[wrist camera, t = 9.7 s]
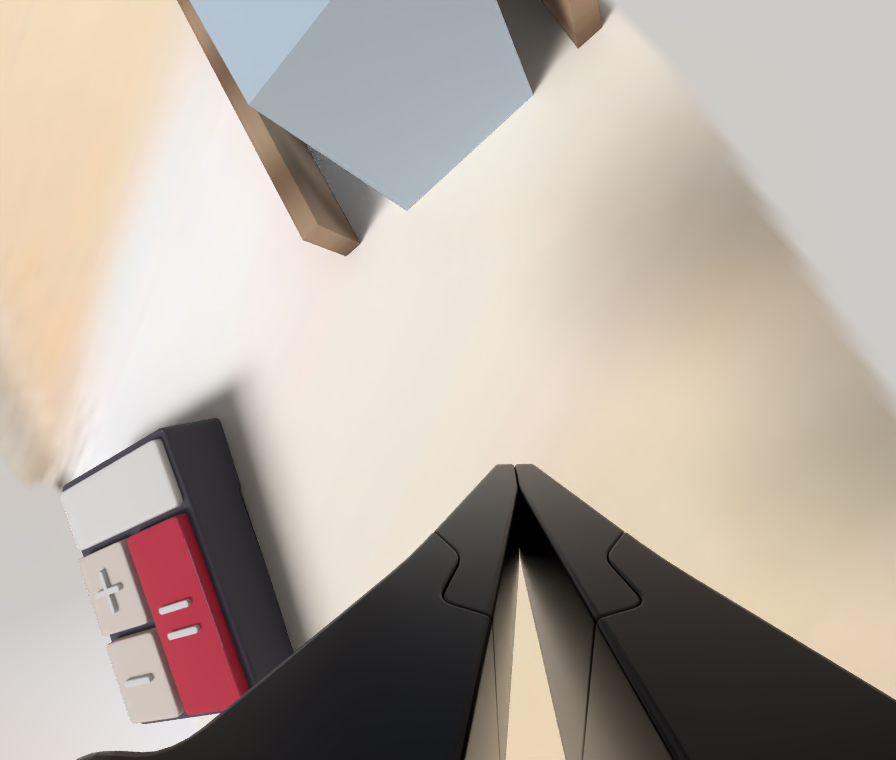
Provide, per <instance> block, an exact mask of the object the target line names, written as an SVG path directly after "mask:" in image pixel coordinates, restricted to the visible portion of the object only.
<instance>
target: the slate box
mask: <svg viewBox="0 0 896 760" xmlns="http://www.w3.org/2000/svg"><path fill="white" fill-rule="evenodd" d="M190 2H191V4H192V6H193V7H194V9H195V11H196V13H197V14H198V16H199V18H200V20H201V22H202V23H203V25H204V27H205V29H206V30H207V32H208V34H209V36H210V38H211V39H212V41H213V43H214V45H215V46H216V48H217V50H218V52H219V54H220V55H221V57H222V59H223V61H224V62H225V64H226V66H227V68H228V69H229V71H230V73H231V75H232V77H233V78H234V80H235V82H236V84H237V85H238V87H239V89H240V91H241V93H242V94H243V96H244V98H245V100H246V101H247V103H248V105H249V106H251V107H252V108H254V109H255V110H257V111H258V112H260V113H261V114H263V115H264V116H266V117H267V118H269V119H270V120H272V121H273V122H275V123H276V124H278V125H279V126H281V127H282V128H284V129H285V130H287V131H288V132H290V133H291V134H293V135H294V136H296V137H297V138H299V139H300V140H302V141H303V142H305V143H306V144H308V145H309V146H311V147H312V148H314V149H315V150H317V151H318V152H320V153H321V154H323V155H324V156H326V157H327V158H329V159H330V160H332V161H333V162H335V163H336V164H338V165H339V166H341V167H342V168H344V169H345V170H347V171H348V172H350V173H351V174H353V175H354V176H356V177H357V178H359V179H360V180H362V181H363V182H364V183H366V184H367V185H369V186H370V187H372V188H373V189H375V190H376V191H378V192H379V193H381V194H382V195H384V196H385V197H387V198H388V199H390V200H391V201H393V202H394V203H396V204H397V205H399V206H400V207H402V208H403V209H405V210H406V211H407V210H408V209H409V208H411V207H412V206H413V205H414V204H415V203H416V202H417V201H418V200H419V199H420V198H421V197H422V196H424V195H425V194H426V193H427V192H428V191H429V190H430V189H431V188H432V187H433V186H434V185H436V184H437V183H438V182H439V181H440V180H441V179H442V178H443V177H444V176H445V175H446V174H448V173H449V172H450V171H451V170H452V169H453V168H454V167H455V166H456V165H457V164H458V163H460V162H461V161H462V160H463V159H464V158H465V157H466V156H467V155H468V154H469V153H470V152H472V151H473V150H474V149H475V148H476V147H477V146H478V145H479V144H480V143H481V142H482V141H483V140H485V139H486V138H487V137H488V136H489V135H490V134H491V133H492V132H493V131H494V130H495V129H497V128H498V127H499V126H500V125H501V124H502V123H503V122H504V121H505V120H506V119H507V118H509V117H510V116H511V115H512V114H513V113H514V112H515V111H516V110H517V109H518V108H519V107H521V106H522V105H523V104H524V103H525V102H526V101H527V100H528V99H529V98H530V97H531V96H532V95H533V93H532V90H531V88H530V85H529V82H528V80H527V77H526V75H525V72H524V70H523V67H522V64H521V62H520V59H519V57H518V54H517V52H516V49H515V46H514V44H513V41H512V39H511V36H510V34H509V31H508V28H507V26H506V23H505V21H504V18H503V16H502V13H501V10H500V8H499V5H498V3H497V0H190Z"/></svg>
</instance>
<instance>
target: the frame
mask: <svg viewBox="0 0 896 760" xmlns="http://www.w3.org/2000/svg"><path fill="white" fill-rule="evenodd" d="M177 1H178V3H179V5H180V7H181V9H182V11H183V12H184V14H185V16H186V18H187V20H188V22H189V24H190V26H191V28H192V30H193V32H194V33H195V35H196V37H197V39H198V41H199V43H200V45H201V47H202V49H203V51H204V52H205V54H206V56H207V58H208V60H209V62H210V64H211V66H212V68H213V70H214V72H215V73H216V75H217V77H218V79H219V81H220V83H221V85H222V87H223V89H224V91H225V93H226V94H227V96H228V98H229V100H230V102H231V104H232V106H233V108H234V110H235V112H236V113H237V115H238V117H239V119H240V121H241V123H242V125H243V127H244V129H245V131H246V133H247V134H248V136H249V138H250V140H251V142H252V144H253V146H254V148H255V150H256V152H257V153H258V155H259V157H260V159H261V161H262V163H263V165H264V167H265V169H266V171H267V173H268V174H269V176H270V178H271V180H272V182H273V184H274V186H275V188H276V190H277V192H278V194H279V195H280V197H281V199H282V201H283V203H284V205H285V207H286V209H287V211H288V213H289V214H290V216H291V218H292V220H293V222H294V224H295V226H296V228H297V230H298V232H299V234H300V235H301V237H302V239H303V240H304V241H307V242H310V243H312V244H315V245H318V246H320V247H323V248H326V249H328V250H331V251H334V252H336V253H339V254H342V255H344V256H347V255H348V254H349V253H350V252H351V251H352V250H353V249H355V248H356V247H357V246H358V245H359V244H360V242H359V241H358V239H357V237H356V235H355V233H354V232H353V230H352V228H351V226H350V224H349V223H348V221H347V219H346V217H345V215H344V214H343V212H342V210H341V208H340V206H339V205H338V203H337V201H336V199H335V197H334V195H333V194H332V192H331V190H330V188H329V186H328V185H327V183H326V181H325V179H324V177H323V176H322V174H321V172H320V170H319V168H318V167H317V165H316V163H315V161H314V159H313V158H312V156H311V154H310V152H309V150H308V149H307V147H306V145H305V143H304V142H303V141H302V140H300V139H299V138H297V137H296V136H294V135H293V134H291V133H290V132H288V131H287V130H285V129H284V128H282V127H281V126H279V125H278V124H276V123H275V122H273V121H272V120H270V119H269V118H267V117H266V116H264V115H263V114H261V113H260V112H258V111H257V110H255V109H254V108H252V107H251V106H249V105H248V103H247V101H246V100H245V98H244V96H243V94H242V93H241V91H240V89H239V87H238V85H237V84H236V82H235V80H234V78H233V77H232V75H231V73H230V71H229V69H228V68H227V66H226V64H225V62H224V61H223V59H222V57H221V55H220V54H219V52H218V50H217V48H216V46H215V45H214V43H213V41H212V39H211V38H210V36H209V34H208V32H207V30H206V29H205V27H204V25H203V23H202V22H201V20H200V18H199V16H198V14H197V13H196V11H195V9H194V7H193V6H192V4H191V2H190V0H177ZM542 1H543V3H544V4H545V5H546V7H547V8H548V9H549V11H550V12H551V13H552V15H553V16H554V17H555V19H556V20H557V21H558V23H559V24H560V25H561V27H562V28H563V29H564V31H565V32H566V33H567V34H568V36H569V37H570V38H571V40H572V41H573V42H574V44H575V45H576V46H577V48H579V47H580V46H581V45H582V44H583V43H585V42H586V41H587V40H588V39H589V38H590V37H591V36H592V35H593V34H595V33H596V32H597V31H598V30H599V29H600V28H601V19H600V10H599V1H598V0H542Z"/></svg>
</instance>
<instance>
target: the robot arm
mask: <svg viewBox="0 0 896 760" xmlns="http://www.w3.org/2000/svg"><path fill="white" fill-rule="evenodd" d="M519 552H520V559H521V565H522V570H523V574H524V578H525V583H526V587H527V592H528V596H529V600H530V605H531V609H532V614H533V618H534V622H535V627H536V631H537V636H538V640H539V644H540V649H541V653H542V658H543V662H544V666H545V671H546V675H547V680H548V684H549V688H550V693H551V697H552V702H553V706H554V710H555V715H556V719H557V724H558V728H559V732H560V737H561V741H562V746H563V750H564V754H565V759H566V760H896V700H895V699H893V698H892V697H890V696H888V695H887V694H885V693H883V692H882V691H880V690H878V689H877V688H875V687H873V686H872V685H870V684H868V683H867V682H865V681H863V680H862V679H860V678H859V677H857V676H855V675H854V674H852V673H850V672H849V671H847V670H845V669H844V668H842V667H840V666H839V665H837V664H835V663H834V662H832V661H830V660H829V659H827V658H826V657H824V656H822V655H821V654H819V653H817V652H816V651H814V650H812V649H811V648H809V647H807V646H806V645H804V644H802V643H801V642H799V641H797V640H796V639H794V638H793V637H791V636H789V635H788V634H786V633H784V632H783V631H781V630H779V629H778V628H776V627H774V626H773V625H771V624H769V623H768V622H766V621H764V620H763V619H761V618H760V617H758V616H756V615H755V614H753V613H751V612H750V611H748V610H746V609H745V608H743V607H741V606H740V605H738V604H736V603H735V602H733V601H731V600H730V599H728V598H727V597H725V596H723V595H722V594H720V593H718V592H717V591H715V590H713V589H712V588H710V587H708V586H707V585H705V584H703V583H702V582H700V581H698V580H697V579H695V578H694V577H692V576H690V575H689V574H687V573H685V572H684V571H682V570H681V569H679V568H678V567H676V566H674V565H673V564H671V563H670V562H668V561H667V560H665V559H663V558H662V557H660V556H659V555H658V554H656V553H655V552H653V551H652V550H650V549H649V548H647V547H646V546H645V545H643V544H642V543H640V542H639V541H638V540H636V539H635V538H633V537H632V536H631V535H629V534H628V533H624V531H623V530H622V529H620V528H619V527H617V526H616V525H615V524H613V523H612V522H611V521H609V520H608V519H607V518H605V517H604V516H603V515H601V514H600V513H598V512H597V511H596V510H594V509H593V508H592V507H590V506H589V505H588V504H586V503H585V502H584V501H582V500H581V499H580V498H578V497H577V496H575V495H574V494H573V493H571V492H570V491H569V490H567V489H566V488H565V487H563V486H562V485H561V484H559V483H558V482H556V481H555V480H554V479H552V478H551V477H550V476H548V475H547V474H546V473H544V472H543V471H542V470H540V469H539V468H538V467H536V466H535V465H533V464H517V465H516V466H515V467H514V465H512V464H500V465H496V466H495V467H494V468H493V469H492V470H491V471H490V472H489V473H488V474H487V476H486V477H485V478H484V479H483V480H482V481H481V482H480V483H479V484H478V485H477V486H476V487H475V488H474V490H473V491H472V492H471V493H470V494H469V495H468V496H467V497H466V498H465V499H464V500H463V501H462V502H461V504H460V505H459V506H458V507H457V508H456V509H455V510H454V511H453V512H452V513H451V514H450V515H449V516H448V518H447V519H446V520H445V521H444V522H443V523H442V524H441V525H440V526H439V527H438V528H437V529H436V530H435V532H434V533H432V534H431V535H430V536H429V537H428V538H427V539H426V540H425V541H424V542H423V543H422V544H421V545H420V546H419V547H418V548H417V549H416V550H415V551H414V552H413V553H412V554H411V555H410V556H409V557H408V558H407V559H406V560H405V561H404V562H403V563H401V564H400V565H399V566H398V567H397V568H396V569H395V570H393V571H392V572H391V573H390V574H389V575H388V576H386V577H385V578H384V579H383V580H381V581H380V582H379V583H378V584H377V585H375V586H374V587H373V588H372V589H371V590H369V591H368V592H367V593H366V594H364V595H363V596H362V597H361V598H360V599H358V600H357V601H356V602H355V603H354V604H352V605H351V606H350V607H349V608H348V609H346V610H345V611H344V612H343V613H341V614H340V615H339V616H338V617H337V618H335V619H334V620H333V621H332V622H331V623H329V624H328V625H327V626H326V627H324V628H323V629H322V630H321V631H320V632H318V633H317V634H316V635H315V636H314V637H312V638H311V639H310V640H309V641H308V642H306V643H305V644H304V645H303V646H301V647H300V648H299V649H298V650H297V651H295V652H294V653H293V654H292V655H291V656H289V657H288V658H287V659H286V660H284V661H283V662H282V663H281V664H280V665H278V666H277V667H276V668H275V669H274V670H272V671H271V672H270V673H269V674H268V675H266V676H265V677H264V678H263V679H261V680H260V681H259V682H258V683H257V684H255V685H254V686H253V687H252V688H251V689H249V690H248V691H247V692H246V693H244V694H243V695H242V696H241V697H240V698H238V699H237V700H236V701H235V702H234V703H232V704H231V705H230V706H229V707H228V708H226V709H225V710H224V711H223V712H221V713H220V714H219V715H218V716H217V717H215V718H214V719H213V720H212V721H211V722H209V723H208V724H207V725H206V726H204V727H203V728H202V729H200V730H199V731H198V732H196V733H195V734H193V735H192V736H191V737H189V738H187V739H185V740H184V741H181V742H180V743H178V744H176V745H174V746H171V747H168V748H165V749H162V750H159V751H154V752H128V751H103V752H96V753H91V754H88V755H85V756H83V757H81V758H78V759H77V760H506V746H507V732H508V717H509V703H510V689H511V674H512V660H513V646H514V631H515V617H516V603H517V588H518V574H519Z"/></svg>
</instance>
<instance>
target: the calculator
mask: <svg viewBox="0 0 896 760" xmlns="http://www.w3.org/2000/svg"><path fill="white" fill-rule="evenodd" d="M61 500H62V504H63V507H64V509H65V512H66V516H67V518H68V522H69V525H70V528H71V531H72V534H73V536H74V540H75V543H76V545H77V548H78V550H82V553H83V556H84V557H83V558H81V559H80V560H79V561H78V564H79V568H80V571H81V574H82V577H83V580H84V583H85V586H86V589H87V592H88V595H89V598H90V601H91V604H92V607H93V610H94V613H95V616H96V619H97V622H98V625H99V628H100V631H101V633H102V635H104V636H106V635H110V637H111V640H112V642H111V643H109V644H108V645H107V647H106V648H107V652H108V655H109V658H110V661H111V664H112V667H113V671H114V674H115V676H116V680H117V683H118V685H119V688H120V691H121V695H122V698H123V701H124V704H125V707H126V710H127V713H128V716H129V719H130V721H131V722H132V723H142V724H148V723H155V722H162V721H169V720H176V719H183V718H190V717H196V716H203V715H210V714H217V713H221V712H223V711H224V710H225V709H226V708H228V707H229V706H230V705H231V704H232V703H234V702H235V701H236V700H237V699H238V698H240V697H241V696H242V695H243V694H244V693H246V692H247V691H248V690H249V689H251V688H252V687H253V686H254V685H255V684H257V683H258V682H259V681H260V680H261V679H263V678H264V677H265V676H266V675H268V674H269V673H270V672H271V671H272V670H274V669H275V668H276V667H277V666H278V665H280V664H281V663H282V662H283V661H284V660H286V659H287V658H288V657H289V656H291V655H292V654H293V653H294V652H293V649H292V646H291V643H290V640H289V637H288V633H287V630H286V627H285V624H284V621H283V618H282V615H281V611H280V608H279V605H278V602H277V599H276V596H275V592H274V589H273V586H272V583H271V580H270V577H269V574H268V571H267V568H266V565H265V562H264V559H263V556H262V553H261V550H260V547H259V544H258V542H257V539H256V536H255V534H254V531H253V528H252V525H251V523H250V520H249V517H248V515H247V512H246V509H245V506H244V504H243V501H242V498H241V495H240V482H239V478H238V475H237V472H236V469H235V466H234V463H233V459H232V456H231V453H230V450H229V447H228V444H227V441H226V437H225V434H224V431H223V428H222V425H221V422H220V421H219V420H218V419H217V418H215V419H209V420H203V421H197V422H192V423H186V424H181V425H175V426H170V427H165V428H161V429H158V430H157V431H155V432H153V433H152V434H150V435H148V436H147V437H145V438H143V439H142V440H140V441H138V442H137V443H135V444H133V445H131V446H130V447H128V448H126V449H125V450H123V451H121V452H120V453H118V454H116V455H115V456H113V457H111V458H110V459H108V460H106V461H105V462H103V463H101V464H100V465H98V466H96V467H95V468H93V469H91V470H89V471H88V472H86V473H84V474H83V475H81V476H79V477H78V478H76V479H74V480H73V481H71V482H69V483H68V484H66V485H65V486H64V487H63V493H62V494H61Z"/></svg>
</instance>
